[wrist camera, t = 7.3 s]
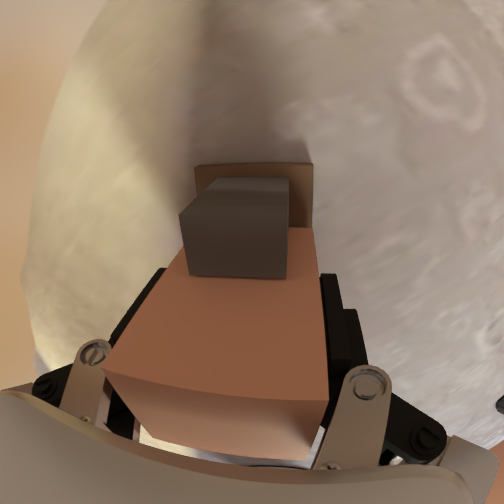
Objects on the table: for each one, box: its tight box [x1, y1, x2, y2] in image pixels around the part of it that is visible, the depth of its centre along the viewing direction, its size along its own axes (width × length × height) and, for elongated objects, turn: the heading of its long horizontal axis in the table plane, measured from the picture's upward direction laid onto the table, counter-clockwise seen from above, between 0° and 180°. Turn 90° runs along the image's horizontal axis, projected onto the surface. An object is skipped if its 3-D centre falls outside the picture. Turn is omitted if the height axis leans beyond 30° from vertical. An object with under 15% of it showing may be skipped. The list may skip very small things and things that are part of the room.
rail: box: [179, 163, 313, 279], centre depth 13 cm, size 17×5×5 cm, turn 3°
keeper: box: [101, 227, 329, 460], centre depth 9 cm, size 4×5×8 cm
